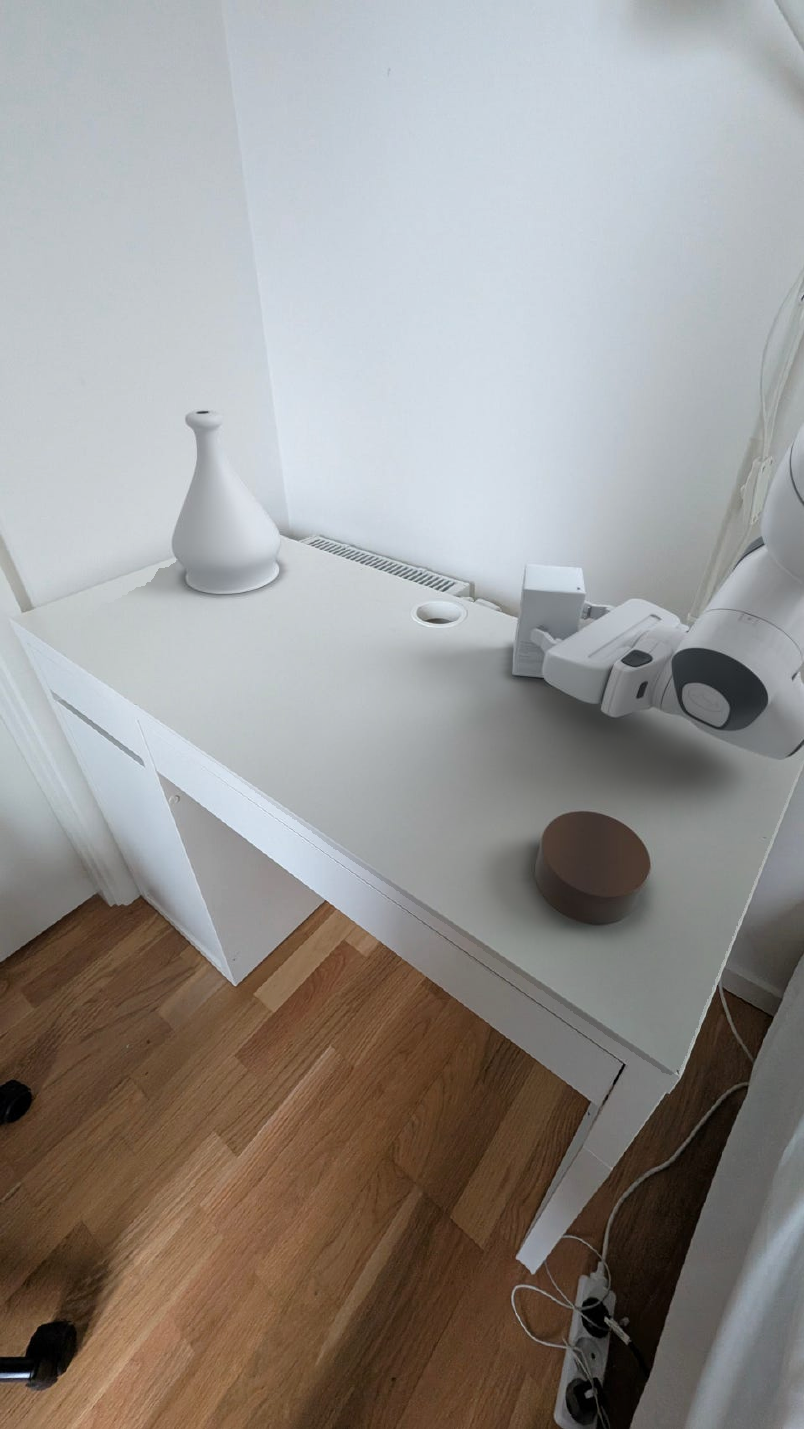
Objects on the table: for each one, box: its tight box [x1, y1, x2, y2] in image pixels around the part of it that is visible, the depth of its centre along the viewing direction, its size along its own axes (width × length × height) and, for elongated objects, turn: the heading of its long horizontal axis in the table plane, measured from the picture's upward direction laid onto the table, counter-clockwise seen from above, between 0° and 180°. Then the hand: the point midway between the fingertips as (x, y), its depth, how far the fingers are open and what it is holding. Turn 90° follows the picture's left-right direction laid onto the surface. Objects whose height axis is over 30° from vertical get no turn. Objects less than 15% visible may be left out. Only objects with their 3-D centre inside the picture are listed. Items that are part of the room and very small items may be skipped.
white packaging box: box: [512, 563, 587, 679], centre depth 74 cm, size 7×7×13 cm
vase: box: [171, 409, 282, 595], centre depth 91 cm, size 17×17×25 cm
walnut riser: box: [534, 810, 652, 925], centre depth 50 cm, size 9×9×4 cm
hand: (556, 619), depth 73 cm, fingers open, 8 cm apart
